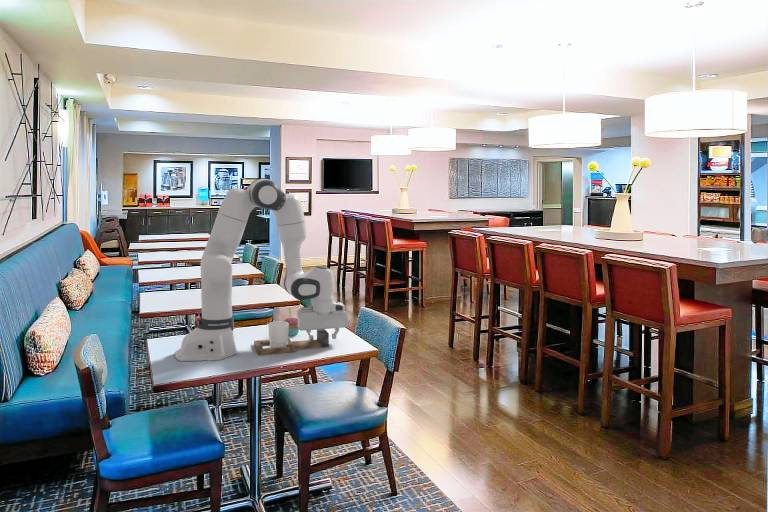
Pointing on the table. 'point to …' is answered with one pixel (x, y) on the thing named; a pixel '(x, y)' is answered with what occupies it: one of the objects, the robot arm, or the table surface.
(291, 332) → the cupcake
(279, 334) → the white cup
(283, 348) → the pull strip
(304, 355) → the table surface
